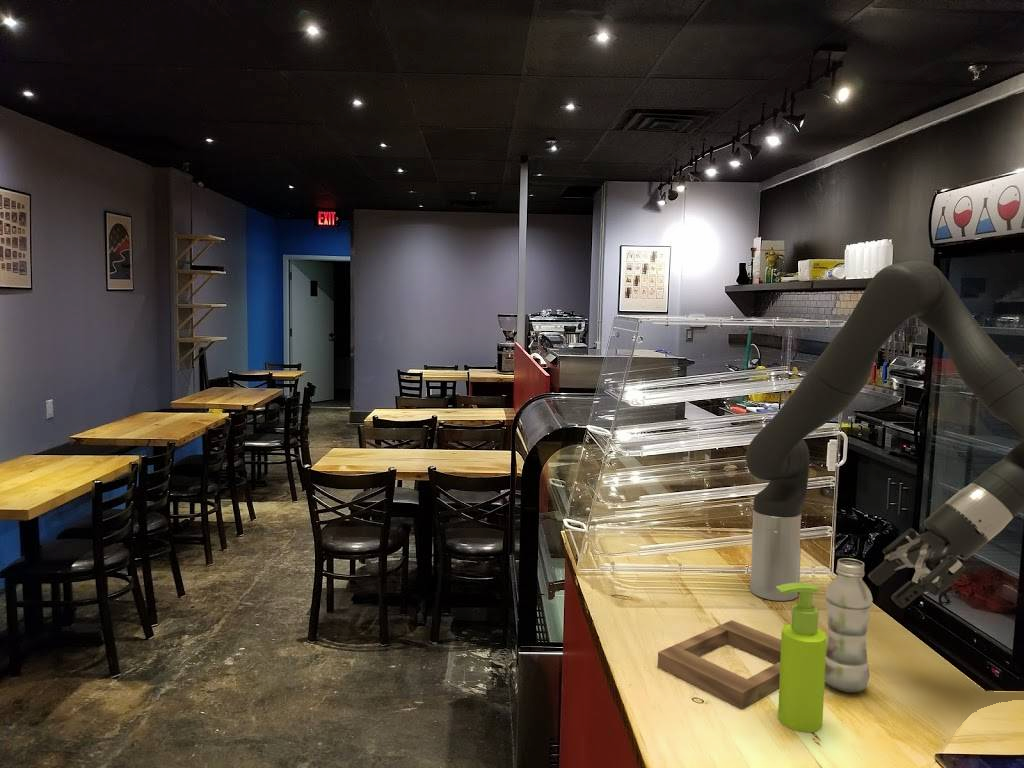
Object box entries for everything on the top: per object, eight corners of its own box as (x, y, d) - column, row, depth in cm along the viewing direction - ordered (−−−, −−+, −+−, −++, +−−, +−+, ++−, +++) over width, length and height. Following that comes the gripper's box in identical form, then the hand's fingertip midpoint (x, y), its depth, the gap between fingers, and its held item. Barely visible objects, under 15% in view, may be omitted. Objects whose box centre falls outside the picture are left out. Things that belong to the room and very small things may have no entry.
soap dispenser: (764, 710, 106) (769, 577, 104) (809, 708, 107) (816, 576, 104) (782, 733, 100) (788, 594, 98) (830, 731, 101) (837, 592, 99)
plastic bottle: (873, 700, 109) (881, 571, 107) (825, 695, 110) (832, 567, 108) (862, 679, 115) (869, 556, 113) (816, 674, 116) (822, 553, 114)
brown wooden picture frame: (731, 633, 131) (731, 620, 131) (814, 668, 118) (815, 653, 118) (657, 666, 119) (658, 652, 118) (742, 709, 106) (742, 693, 106)
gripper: (927, 490, 115) (848, 558, 118) (976, 516, 101) (886, 592, 103) (959, 524, 115) (880, 591, 118) (1013, 554, 101) (923, 630, 104)
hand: (883, 591), depth 111 cm, fingers open, 8 cm apart
